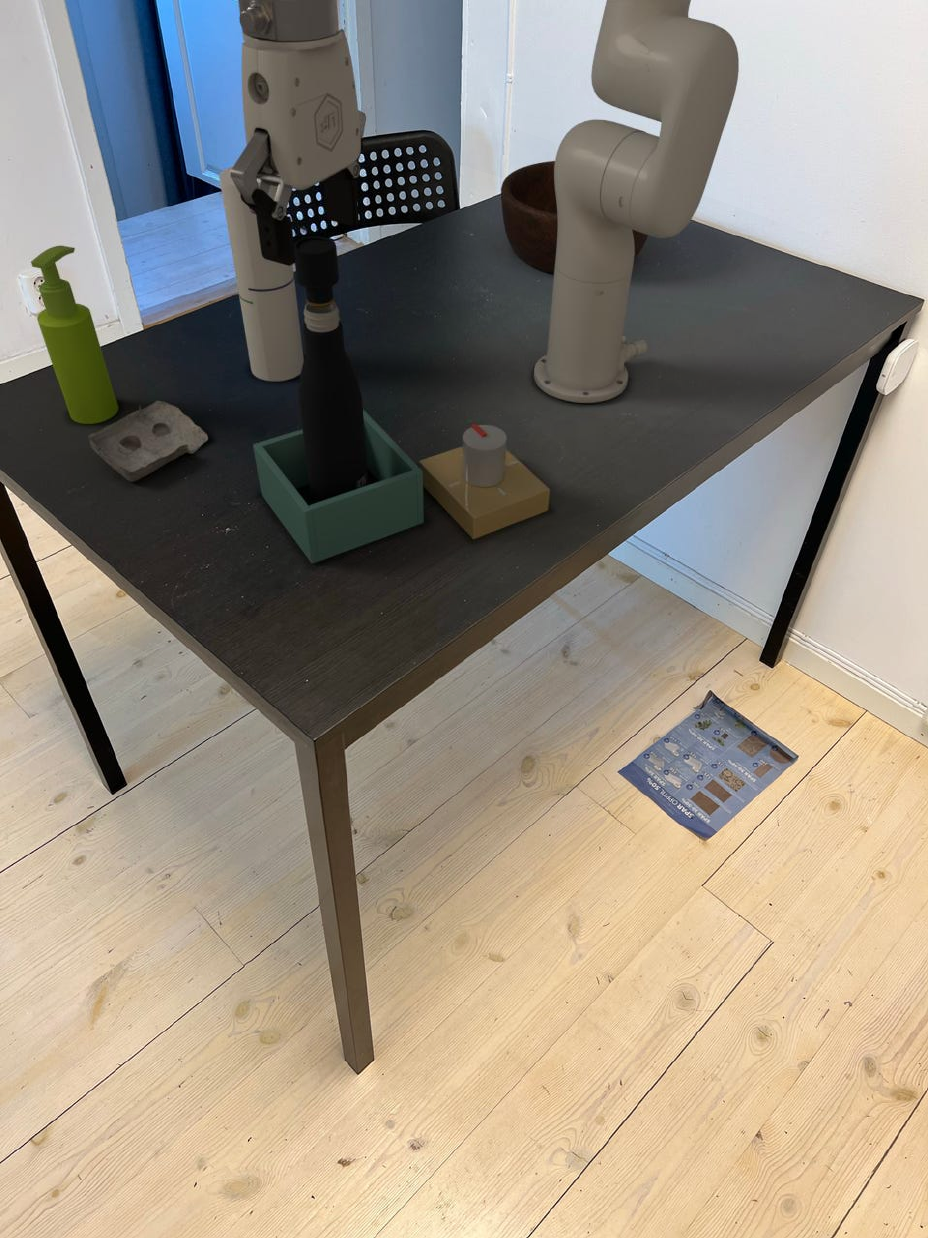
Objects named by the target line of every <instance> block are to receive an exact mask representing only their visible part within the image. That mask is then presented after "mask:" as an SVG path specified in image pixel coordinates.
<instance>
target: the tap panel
mask: <svg viewBox="0 0 928 1238" xmlns="http://www.w3.org/2000/svg"><path fill="white" fill-rule="evenodd" d="M462 453H463V445H462V446H459V447H456V448H453V449H450V450H446V451H444V452H440V453H438V454H435V455H432V456H429V457H427V458H424V459H423V458H422V459H420V460H418V467H419V468H420V469H421V470H422V471H423V488H424V489H425V490H426V491H427V492H428V493H429V494H430V495H431V496H432V497H433V498H434V499H435V500H436V502H438V504H440V506H441V507H442V508H443V509H444V510H445V511H446V512H447V514H449V515H450V516H451V518H452V519H453V520H454V521H455V522H456V523H457V524H458V525H459V527H461V528H462V529H463V530H464V531H465V532H466V533H467V534H468V536H469V537H470V538H471V539H472V540H475V539H478V538H481V537H484V536H485V535H488V534H491V533H493V532H496V531H499V530H502V529H504V528H506V527H509V526H511V525H515V524H516V523H519V522H522V521H524V520H527V519H530V518H533V517H535V516H537V515H540V514H542V513H545V512H548V511H549V507H550V506H549V505H550V495H551V488H550V487H548V486H547V485H546V484H545V483H544V482H543V481H542V480H540V479H539V477H537V476H536V475H535V474H534V473H533V472H532V471H531V470H530V469H529V468H527V467H526V466H525V465H524V463H522V462H521V461H520V460H519V459H518V458H516V457H515V456H514V454H512V453H511V452H510V451H509V450H508V449H507V448H506V462H505V477H504V479H503V480H502V481H501V482H500V483H499V484H497V485H495V486H491V487H477V486H473V485H471V484H469V483H468V482H466V481H465V480H464V478H463V476H462Z"/></svg>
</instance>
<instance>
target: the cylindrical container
mask: <svg viewBox="0 0 928 1238" xmlns="http://www.w3.org/2000/svg"><path fill="white" fill-rule="evenodd" d="M232 167H233V166H230V167H228V168H226V169H224V170H222V171H221V172H220V173H219V176H218V177H219V183H220V189H221V196H222V200H223V208H224V214H225V221H226V226H227V232H228V238H229V243H230V249H231V256H232V261H233V262H232V263H233V268H234V274H235V281H236V286H237V291H238V292H237V293H238V298H239V303H240V304H239V305H240V310H241V316H242V323H243V328H244V333H245V334H244V335H245V340H246V345H247V353H248V359H249V364H250V370H251V373H252V375H253V376H254V377H256V378H257V379H259V380H261V381H266V382H284V381H288V380H292V379H295V378H296V377H298V376H300V374H301V370H302V366H303V362H304V358H305V356H304V351H303V350H304V349H303V342H302V341H303V340H302V333H301V326H300V325H301V323H300V317H299V309H298V299H297V292H296V284H295V283H296V282H295V276H294V267H293V266H294V265H293V264H292V265H291V266H288V265H284V264H280V263H277V262H273V261H270V260H266V259H264V258H263V257H262V254H261V247H260V239H259V232H258V225H257V218H256V214H253V213H251V211H250V208H249V207H248V206H247V205H246V204H245V203H244V202H243V201H242V200H241V197H240V193H239V191H238V189H237V188H236V186H235V184H234V182H233V180H232V179H231V174H230V173H231V169H232ZM278 176H280V175H278ZM277 188H278V187H275V186H271V185H270V188H269V191H268V195H269V196H270V197H271V198H272V199H273V200H274V199H275V195H276V192H277ZM285 216H287V212H286V213H285Z"/></svg>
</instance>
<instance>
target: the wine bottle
mask: <svg viewBox="0 0 928 1238" xmlns="http://www.w3.org/2000/svg"><path fill="white" fill-rule="evenodd" d="M294 249H295V258H296V260H295V263H294V268H295V277H296V283H297V284H298V285H299V286H301V287H303V288H304V289H305V290H304V291H305V302H306V304H305V305H304V309H303V315H304V324H303V326H302V330H303V337H304V346H305V355H304V362H303V366H302V370H301V374H299V383H298V395H297V396H298V398H297V399H298V406H299V413H300V420H301V421H300V422H301V430H303V438H304V445H305V453H306V460H307V468H308V476H309V483H310V484H309V490H310V498H311V505H312V504H315V503H318V502H321V501H324V500H327V499H330V498H332V497H335V496H338V495H341V494H344V493H347V492H350V491H353V490H356V489H359V488H362V487H365V486H367V485H370V484H369V474H368V473H369V472H368V471H369V470H368V468H367V457H366V444H365V431H364V417H363V411H364V406H363V397H362V392H361V391H362V390H361V388H360V384H359V381H358V378H357V375H356V370H355V368H354V367H353V364H352V362H351V360H350V357H349V355H348V352H347V351H346V348H345V347H346V346H345V336H344V326H343V323H342V322H341V318H340V315H339V314H340V309H339V308H338V305H337V303H336V302H335V296H334V289H333V286H335V285H337V283H339V281H340V273H339V261H338V249H337V244H336V242H335V241H334V240H333V239H332V238H329V237H325V236H316V235H315V236H307V237H302V238H300V239H298V240H296V241H294Z"/></svg>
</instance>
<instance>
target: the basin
mask: <svg viewBox="0 0 928 1238" xmlns="http://www.w3.org/2000/svg"><path fill="white" fill-rule="evenodd" d="M363 417H364V431H365V444H366V457H367V470H368V471H369V472H370V473H371V474H372V475H373V476H374V477H375V478H376V480H377V481H376V482H374V483H370V484H369V485H367V486H365V487H362V488H359V489H356V490H353V491H350V492H347V493H344V494H341V495H338V496H335V497H332V498H330V499H327V500H324V501H321V502H318V503H315V504H312V503H311V504H310V505H309V504H308V503H307V501H306V500H305V499H304V498H303V496H302V494H301V493H300V492H298V490H297V489H300V488H302V487H306V486H310V483H309V476H308V468H307V460H306V453H305V445H304V438H303V430H302V429H299V430H295V431H292V432H288V433H285V434H282V435H279V436H276V437H272V438H270V439H266V440H263V441H259V442H256V443H253V445H252V447H253V453H254V458H255V459H254V460H255V463H256V470H257V475H258V481H259V486H260V492H261V496H262V497H263V499H264V501H265V502H266V503H267V505H268V506H269V507H270V509H271V510H272V511H273V513H274V514H275V515H276V517H277V518H278V519H279V521H280V522H281V523H282V525H283V527H284V528H285V529H286V530H287V532H288V533H289V535H290V536H291V537H292V539H293V540H294V542H295V543H296V544H297V546H298V547H299V549H300V550H301V551H302V552H303V554H304V555H305V556H306V558H307V559H308V561H309V563H310V564H312V565H313V564H315V563H319V562H322V561H325V560H326V559H327V560H328V559H329V558H332V557H335V556H337V555H340V554H343V553H346V552H348V551H352V550H355V549H356V548H359V547H362V546H364V545H368V544H370V543H372V542H375V541H378V540H382V539H384V538H386V537H389V536H392V535H394V534H398V533H400V532H403V531H405V530H409V529H411V528H413V527H416V526H419V525H422V524H424V522H425V518H424V517H425V515H424V513H425V512H424V486H423V471H422V470H421V469H420V468H419V465H417V464H416V463H415V461H413V460H412V458H410V456H409V455H408V454H407V453H406V452H405V451H404V450H403V449H402V448H401V447H400V446H399V445H398V444H397V443H396V442H395V441H394V439H393V438H391V437H390V436H389V434H388V433H387V432H386V431H385V430H384V429H383V428H382V427H381V426H380V425H379V424H378V423H377V422H376V421H375V420H374V419H373V418H372V417H371V415H370V414H369V413H368V412H367V411H366V410H364V409H363Z"/></svg>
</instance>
